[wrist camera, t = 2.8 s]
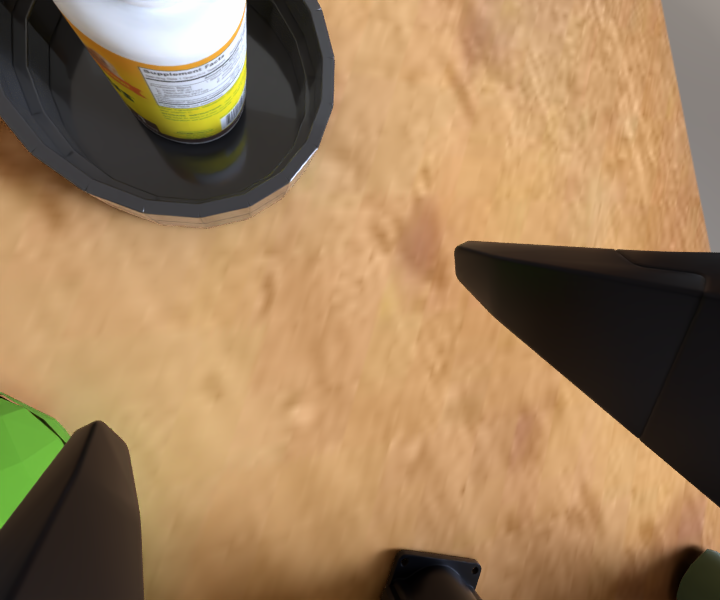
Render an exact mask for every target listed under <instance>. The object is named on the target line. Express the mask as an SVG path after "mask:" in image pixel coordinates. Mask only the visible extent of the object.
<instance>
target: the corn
mask: <svg viewBox="0 0 720 600" xmlns="http://www.w3.org/2000/svg"><path fill="white" fill-rule="evenodd" d="M0 395H4V396H6V397H7V398H9V399H11V400H12V401H14V402H16V403H17V404H19V405H21V406H22V407H21V406H19V405H16V404H14V403H12V402H10V401H8V400H7V399H5V398H3V397H1V396H0V529H1V528H2V526H3V525H4V524H5V523H6V521H7V520H8V519H9V517H10V516H11V515H12V513H13V512H14V511H15V509H16V508H17V507H18V505H19V504H20V503H21V502H22V500H23V499H24V498H25V496H26V495H27V494H28V492H29V491H30V490H31V488H32V487H33V486H34V485H35V483H36V482H37V481H38V479H39V478H40V477H41V475H42V474H43V473H44V471H45V470H46V469H47V467H48V466H49V465H50V464H51V462H52V461H53V460H54V458H55V457H56V456H57V454H58V453H59V452H60V450H61V449H62V448H63V446H64V445H65V444H66V443H67V441H68V440H69V439H70V436H69V434H68V433H67V431H66V430H65V429H64V428H63V427H62V426H61V425H60V424H59V423H58V422H57V421H56V420H55V419H54V418H52V417H50V416H48V415H46V414H44V413H42V412H40V411H38V410H36V409H34V408H32V407H30V406H28V405H26V404H24V403H22V402H20V401H18V400H16V399H14V398H12V397H10V396H8V395H6V394H4V393H2V392H0ZM28 410H29V411H30V412H31V413H32V414H31V413H30V412H29V411H28Z"/></svg>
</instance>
